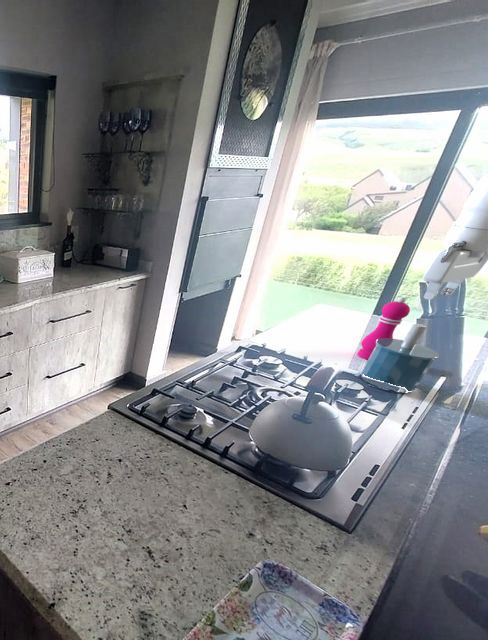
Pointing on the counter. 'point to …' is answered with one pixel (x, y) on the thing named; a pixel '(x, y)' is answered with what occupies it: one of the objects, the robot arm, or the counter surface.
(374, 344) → the pepper mill
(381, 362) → the cup
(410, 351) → the lid
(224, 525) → the counter surface
